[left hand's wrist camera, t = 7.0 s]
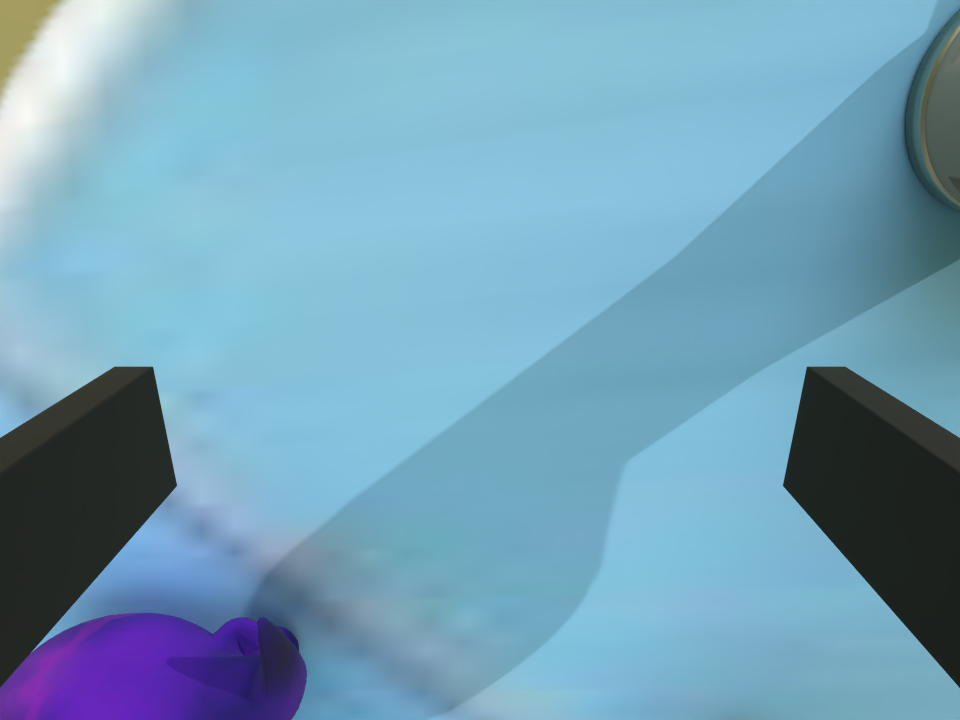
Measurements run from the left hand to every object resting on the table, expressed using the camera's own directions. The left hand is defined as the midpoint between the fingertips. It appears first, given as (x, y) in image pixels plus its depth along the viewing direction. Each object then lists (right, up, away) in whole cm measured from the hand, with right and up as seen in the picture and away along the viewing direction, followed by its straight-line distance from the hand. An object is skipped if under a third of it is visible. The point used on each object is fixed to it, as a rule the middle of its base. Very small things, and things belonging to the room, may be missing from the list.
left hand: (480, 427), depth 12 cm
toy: (-25, -22, +42) cm, 54 cm away
